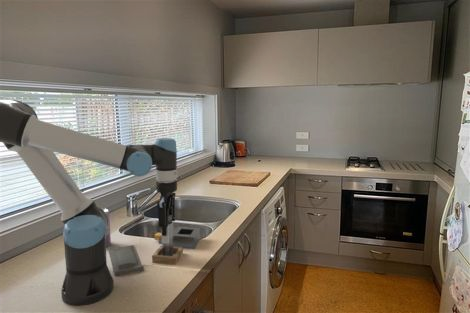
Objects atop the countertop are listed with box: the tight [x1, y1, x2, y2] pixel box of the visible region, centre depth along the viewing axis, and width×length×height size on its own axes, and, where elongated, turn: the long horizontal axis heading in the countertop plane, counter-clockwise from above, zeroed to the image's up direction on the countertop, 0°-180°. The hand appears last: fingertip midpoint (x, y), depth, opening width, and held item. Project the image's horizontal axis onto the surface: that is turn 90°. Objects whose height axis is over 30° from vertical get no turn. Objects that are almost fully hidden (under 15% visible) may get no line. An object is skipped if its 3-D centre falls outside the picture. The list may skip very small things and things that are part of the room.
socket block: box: [158, 226, 201, 250], centre depth 139 cm, size 10×16×6 cm, turn 82°
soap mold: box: [108, 244, 144, 277], centre depth 124 cm, size 10×20×4 cm, turn 26°
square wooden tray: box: [151, 245, 184, 265], centre depth 125 cm, size 9×9×4 cm
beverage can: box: [102, 208, 112, 248], centre depth 136 cm, size 6×6×15 cm
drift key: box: [154, 232, 161, 241], centre depth 139 cm, size 3×7×2 cm, turn 82°
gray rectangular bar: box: [161, 214, 174, 256], centre depth 124 cm, size 4×4×16 cm
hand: (167, 240), depth 124 cm, fingers closed on gray rectangular bar, 4 cm apart
